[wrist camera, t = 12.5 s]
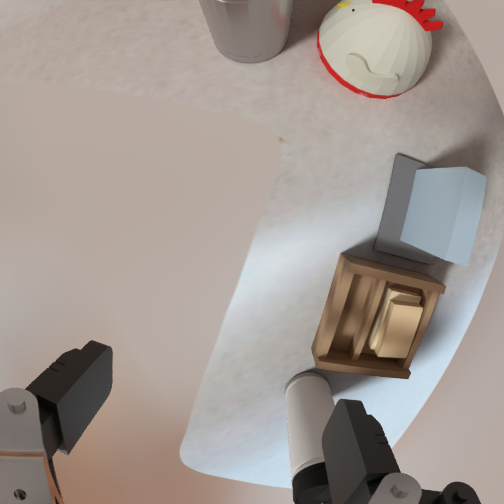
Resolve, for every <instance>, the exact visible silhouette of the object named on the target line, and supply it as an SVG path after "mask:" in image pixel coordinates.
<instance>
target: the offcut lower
mask: <svg viewBox="0 0 504 504" xmlns="http://www.w3.org/2000/svg"><path fill="white" fill-rule="evenodd" d="M390 300H396V301H404V302H412V303H418V304H419V303H420V300H421V296H419V295H418V294H417V293H414V292H409V291H405V290H400V289H396V288H391V287H387V289H386V292H385V295H384V298H383V301H382V304H381V307H380V310H379V313H378V316H377V318H376V321H375V324H374V327H373V329H372V332H371V335H370V337H369V340H368V342H367V344H368V346H369V347H370V349H373V350H375V347H376V344H377V341H378V338H379V334H380V331H381V328H382V325H383V322H384V318H385V315H386V311H387V308H388V304H389V301H390Z"/></svg>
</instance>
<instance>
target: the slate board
mask: <svg viewBox="0 0 504 504" xmlns="http://www.w3.org/2000/svg"><path fill="white" fill-rule="evenodd" d="M487 178H488V177H486V176H484V175H482V174H480V173H478V172H476V171H474V170H472V169H470V168H468V167H449V168H433V169H420V170H416V174H415V179H414V184H413V189H412V193H411V198H410V202H409V206H408V211H407V215H406V219H405V223H404V227H403V231H402V234H401V238H400V240H401V241H403V242H405V243H408V244H410V245H412V246H415V247H417V248H419V249H421V250H424V251H426V252H428V253H430V254H432V255H435V256H437V257H439V258H441V259H443V260H446V261H449V262H453V263H456V264H459V265H463V266H466V267H467V266H468V262H469V259H470V255H471V252H472V248H473V244H474V240H475V236H476V232H477V228H478V224H479V220H480V215H481V210H482V205H483V200H484V195H485V190H486V184H487Z"/></svg>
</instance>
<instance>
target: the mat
mask: <svg viewBox="0 0 504 504" xmlns="http://www.w3.org/2000/svg"><path fill="white" fill-rule="evenodd" d="M420 169H433V167H430V166H428V165H425V164H423V163H420V162H417V161H415V160H412V159H410V158H407V157H404V156H401V155H399V154H396V155H395V160H394V165H393V170H392V175H391V180H390V184H389V189H388V193H387V198H386V202H385V206H384V210H383V214H382V218H381V222H380V226H379V230H378V234H377V238H376V241H375V245H374V250H378V251H382V252H385V253H389V254H393V255H397V256H401V257H404V258H408V259H412V260H416V261H419V262H423V263H427V264H430V265H434V262H435V258H436V256H435V255H432V254H430V253H428V252H426V251H424V250H421V249H419V248H417V247H415V246H412V245H410V244H408V243H405V242H403V241H401V240H400V238H401V234H402V231H403V227H404V223H405V219H406V215H407V211H408V206H409V202H410V198H411V193H412V189H413V184H414V179H415V174H416V170H420Z"/></svg>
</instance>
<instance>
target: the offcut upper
mask: <svg viewBox="0 0 504 504" xmlns="http://www.w3.org/2000/svg"><path fill="white" fill-rule="evenodd" d="M422 311H423V307H422V306H421V305H420V304H418V303H412V302H404V301H396V300H390V301H389V304H388V308H387V311H386V315H385V318H384V322H383V325H382V328H381V331H380V334H379V338H378V341H377V344H376V347H375V350H374V351H375V353H376V354H377V356H378V357H393V358H406V357H407V355H408V352H409V349H410V347H411V344H412V341H413V338H414V335H415V332H416V329H417V326H418V323H419V320H420V317H421V314H422Z"/></svg>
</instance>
